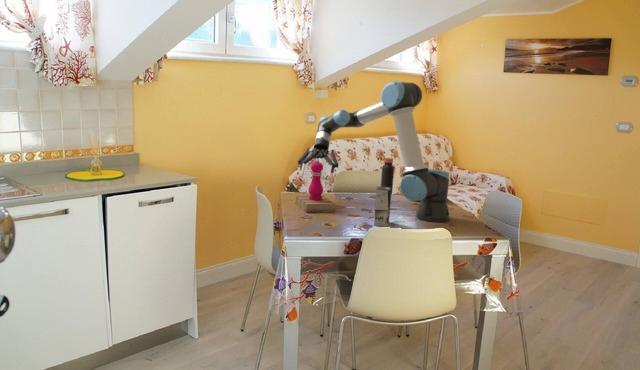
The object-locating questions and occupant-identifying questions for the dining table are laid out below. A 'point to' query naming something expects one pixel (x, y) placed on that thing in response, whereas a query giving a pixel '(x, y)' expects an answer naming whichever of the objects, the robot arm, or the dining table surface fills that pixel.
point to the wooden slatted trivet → (315, 204)
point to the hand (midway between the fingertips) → (315, 176)
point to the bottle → (387, 173)
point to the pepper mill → (316, 181)
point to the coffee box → (382, 206)
